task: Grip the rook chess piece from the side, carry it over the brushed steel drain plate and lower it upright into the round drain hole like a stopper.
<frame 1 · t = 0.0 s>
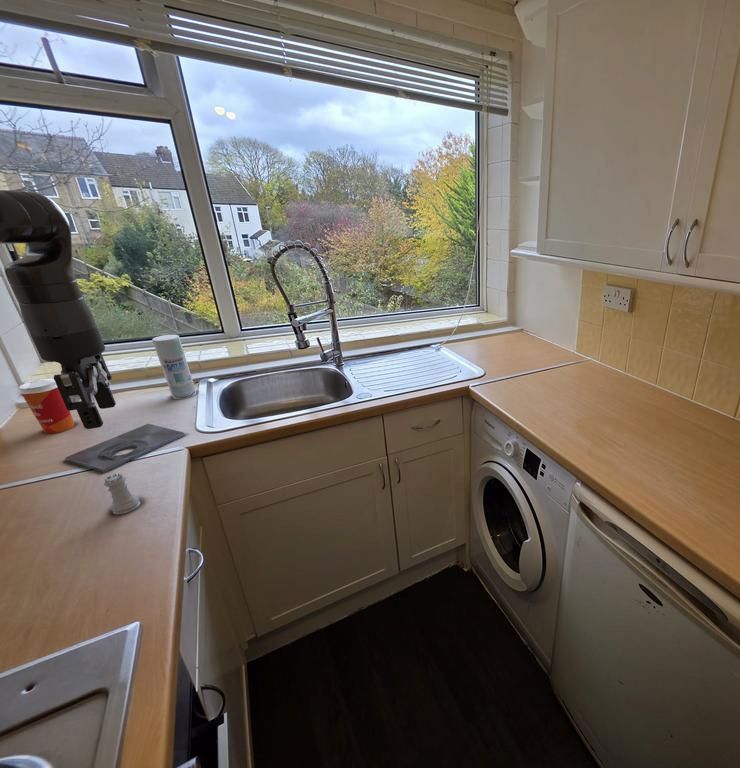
hand: (101, 416, 71), 23 cm above the worktop, tool pointing down, fingers open, 8 cm apart
spray can: (185, 397, 132), on the worktop
paper cup: (61, 430, 111), on the worktop
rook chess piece: (128, 510, 83), on the worktop
drain plate: (129, 449, 103), on the worktop
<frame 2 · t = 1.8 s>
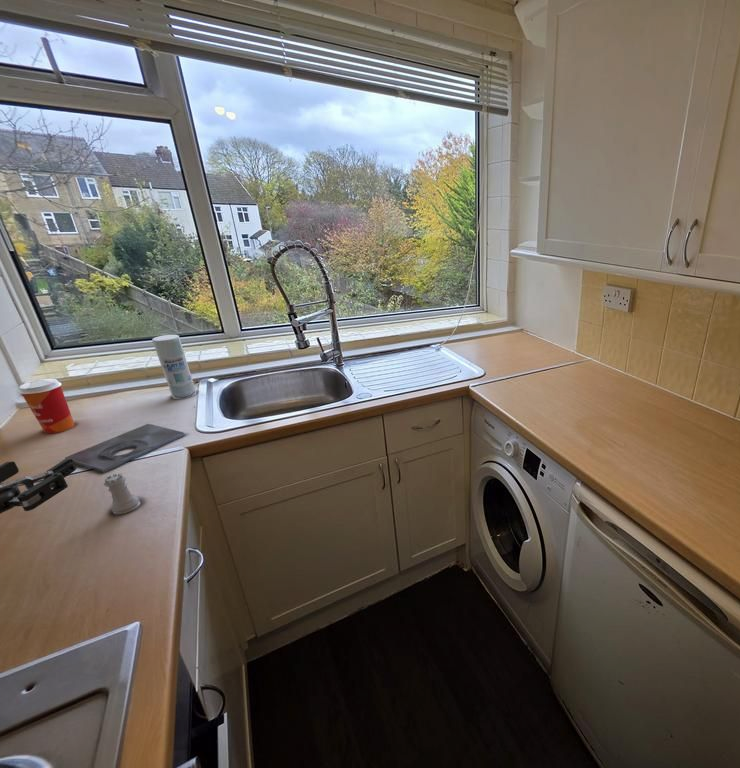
hand: (43, 464, 67), 18 cm above the worktop, tool horizontal, fingers open, 8 cm apart
nothing on the worktop moved.
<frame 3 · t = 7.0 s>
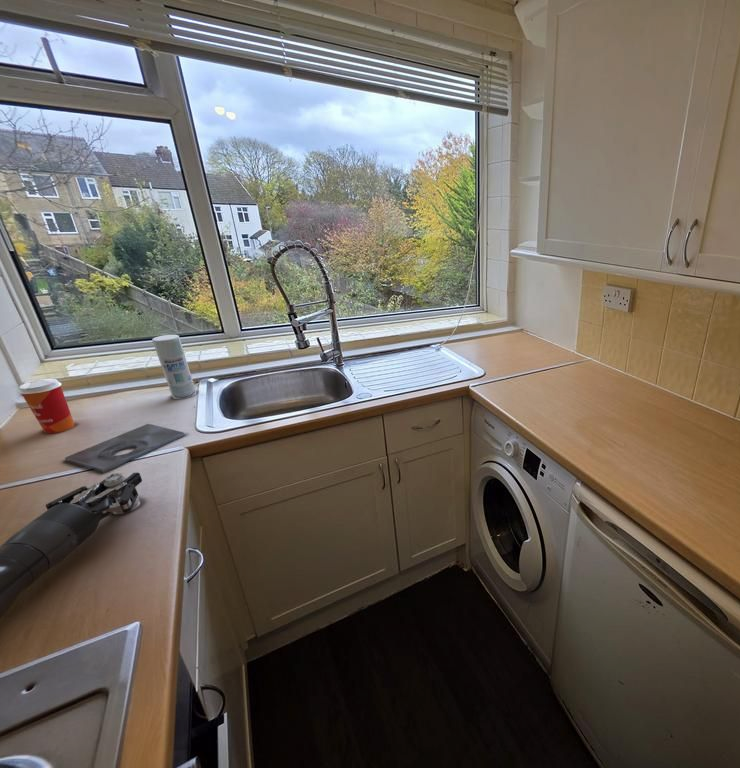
hand: (127, 476, 83), 6 cm above the worktop, tool horizontal, fingers closed on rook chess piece, 3 cm apart
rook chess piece: (128, 510, 83), on the worktop, touching gripper
everything else where it was.
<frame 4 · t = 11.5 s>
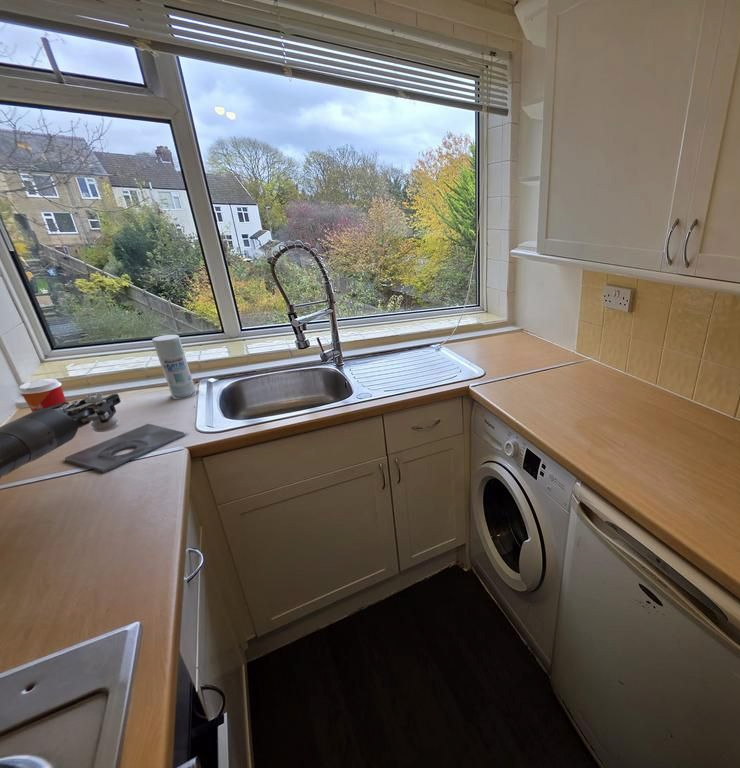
hand: (107, 398, 90), 18 cm above the worktop, tool horizontal, fingers closed on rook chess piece, 3 cm apart
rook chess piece: (107, 428, 90), point 12 cm above the worktop, touching gripper
everything else where it was.
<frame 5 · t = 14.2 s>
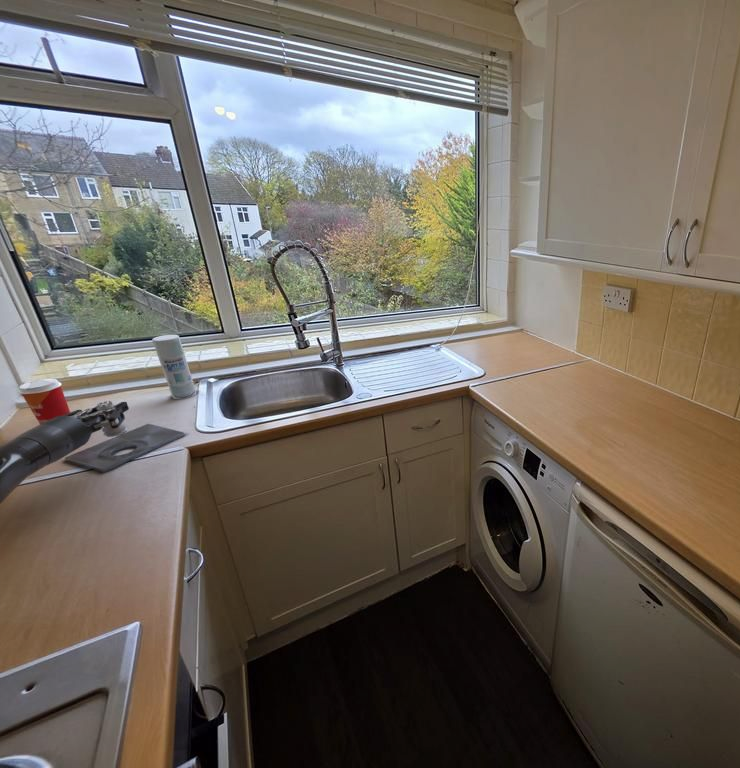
hand: (116, 405, 98), 12 cm above the worktop, tool horizontal, fingers closed on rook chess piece, 3 cm apart
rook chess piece: (117, 433, 98), point 6 cm above the worktop, touching gripper
everything else where it was.
when the fingers open (6 cm above the worktop, at t = 16.3 s): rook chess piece stays where it is, resting in drain plate.
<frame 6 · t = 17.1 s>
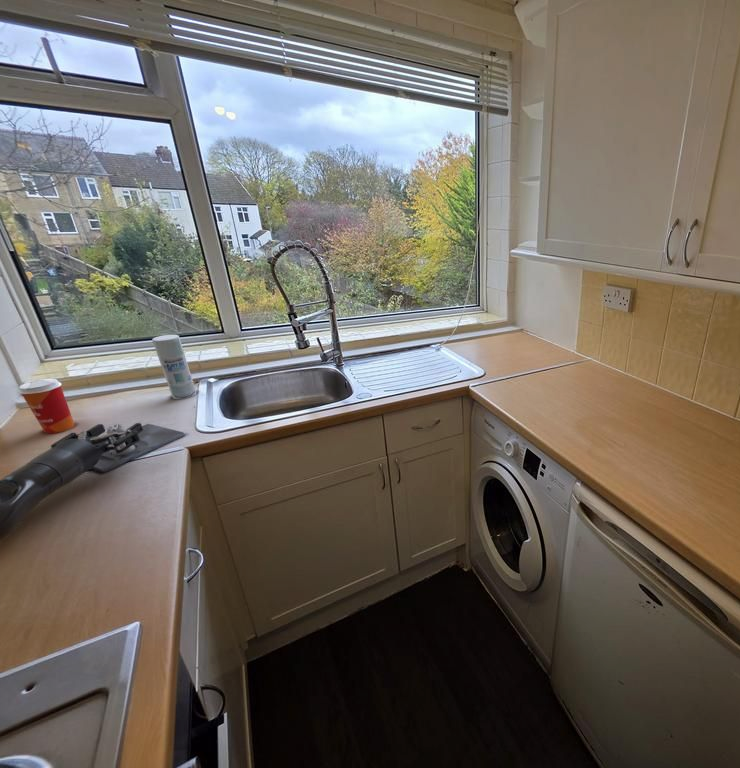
hand: (121, 426, 100), 7 cm above the worktop, tool horizontal, fingers open, 8 cm apart
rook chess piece: (126, 455, 101), resting in drain plate
everything else where it was.
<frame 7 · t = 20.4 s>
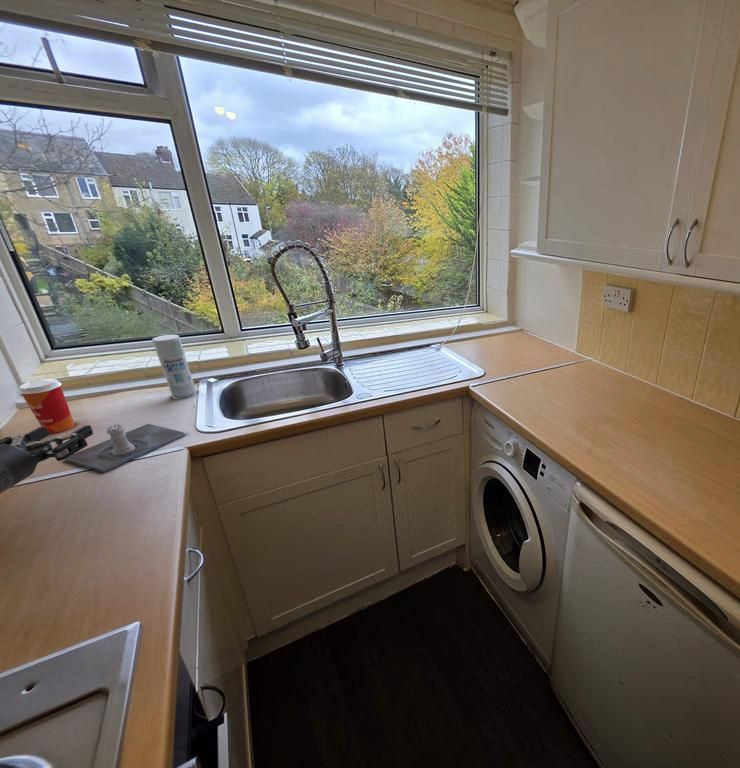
hand: (68, 429, 86), 13 cm above the worktop, tool horizontal, fingers open, 8 cm apart
nothing on the worktop moved.
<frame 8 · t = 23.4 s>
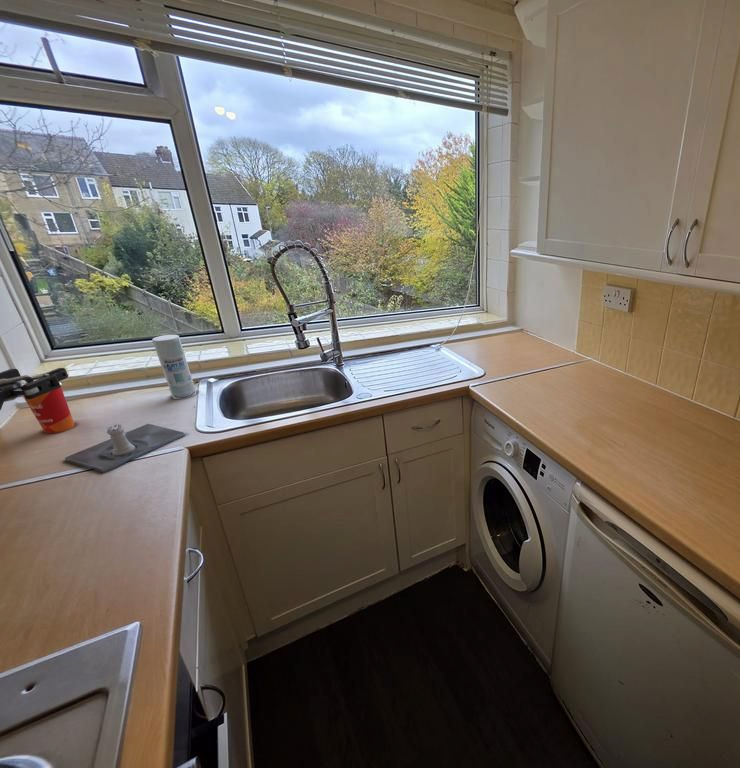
hand: (41, 372, 81), 26 cm above the worktop, tool horizontal, fingers open, 8 cm apart
nothing on the worktop moved.
at the end: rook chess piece 0.2 cm from the target spot in the drain plate, point 0.0 cm above the drain plate's base; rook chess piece tilted 0°; the gripper is holding nothing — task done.
